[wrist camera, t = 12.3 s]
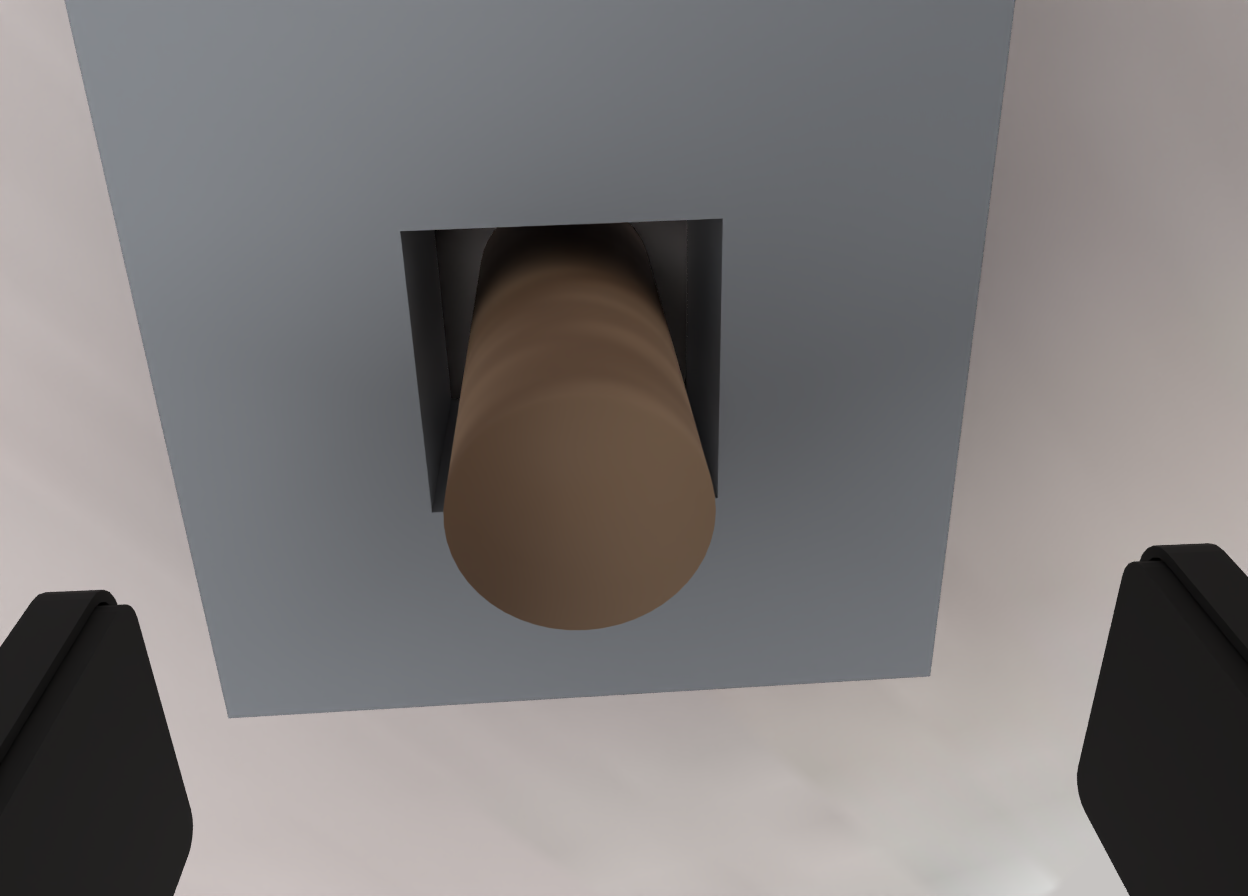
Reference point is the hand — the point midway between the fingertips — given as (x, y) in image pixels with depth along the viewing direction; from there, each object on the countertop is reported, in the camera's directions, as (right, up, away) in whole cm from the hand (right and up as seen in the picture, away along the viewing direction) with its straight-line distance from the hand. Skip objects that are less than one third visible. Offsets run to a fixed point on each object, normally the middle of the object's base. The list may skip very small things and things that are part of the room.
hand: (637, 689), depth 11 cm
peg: (-1, +6, +13) cm, 14 cm away
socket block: (-1, +6, +13) cm, 14 cm away
